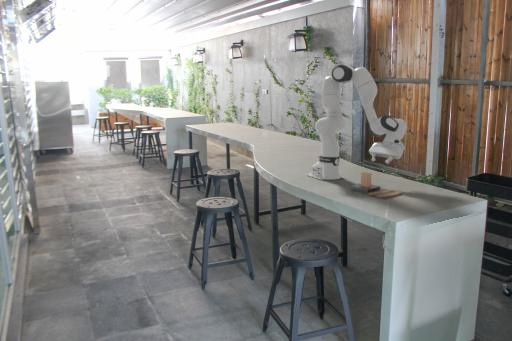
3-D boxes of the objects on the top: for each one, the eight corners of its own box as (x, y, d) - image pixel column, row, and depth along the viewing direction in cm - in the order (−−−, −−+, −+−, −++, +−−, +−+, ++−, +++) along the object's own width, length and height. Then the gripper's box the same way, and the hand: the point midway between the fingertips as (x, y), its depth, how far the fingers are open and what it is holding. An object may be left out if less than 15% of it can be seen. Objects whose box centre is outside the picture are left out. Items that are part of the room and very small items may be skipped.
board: (367, 195, 251) (367, 193, 251) (385, 190, 261) (385, 188, 261) (384, 199, 243) (384, 197, 243) (402, 194, 253) (402, 192, 252)
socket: (351, 189, 262) (351, 185, 262) (363, 186, 270) (363, 182, 269) (367, 193, 254) (367, 189, 253) (380, 190, 261) (380, 186, 260)
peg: (360, 190, 262) (361, 173, 260) (365, 189, 264) (365, 172, 262) (366, 191, 259) (367, 174, 257) (370, 190, 261) (371, 173, 259)
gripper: (373, 138, 276) (362, 156, 272) (403, 141, 261) (392, 160, 257) (377, 144, 280) (367, 162, 276) (407, 148, 264) (396, 167, 260)
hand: (379, 161), depth 266 cm, fingers open, 8 cm apart
